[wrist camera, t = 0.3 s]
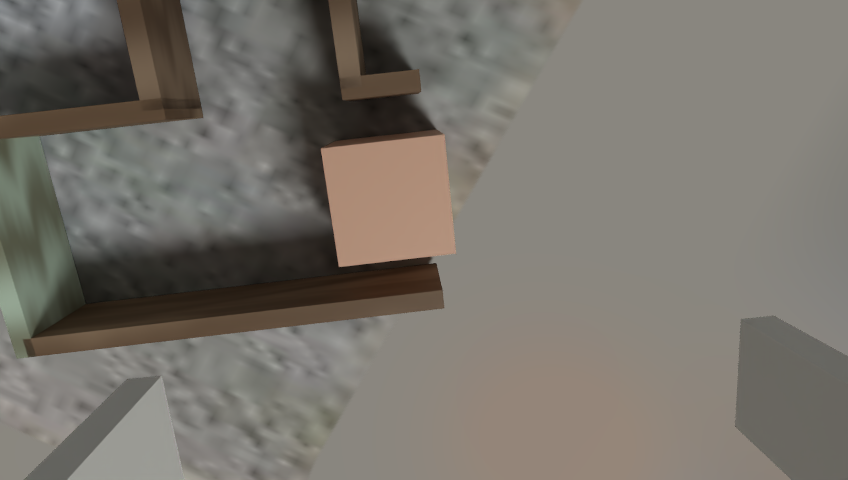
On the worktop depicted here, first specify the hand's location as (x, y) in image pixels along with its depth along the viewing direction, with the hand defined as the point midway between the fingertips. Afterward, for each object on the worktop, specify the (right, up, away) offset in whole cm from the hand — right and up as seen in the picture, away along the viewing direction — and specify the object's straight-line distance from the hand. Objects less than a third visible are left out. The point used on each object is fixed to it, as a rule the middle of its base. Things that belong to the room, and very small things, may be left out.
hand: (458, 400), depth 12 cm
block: (-3, +8, +26) cm, 27 cm away
